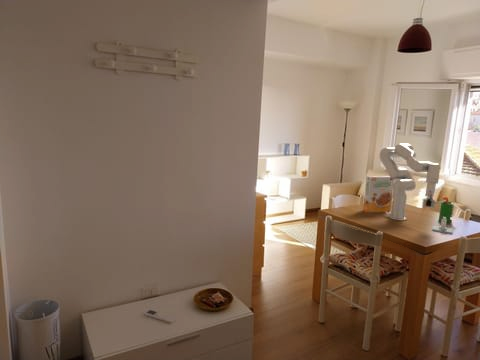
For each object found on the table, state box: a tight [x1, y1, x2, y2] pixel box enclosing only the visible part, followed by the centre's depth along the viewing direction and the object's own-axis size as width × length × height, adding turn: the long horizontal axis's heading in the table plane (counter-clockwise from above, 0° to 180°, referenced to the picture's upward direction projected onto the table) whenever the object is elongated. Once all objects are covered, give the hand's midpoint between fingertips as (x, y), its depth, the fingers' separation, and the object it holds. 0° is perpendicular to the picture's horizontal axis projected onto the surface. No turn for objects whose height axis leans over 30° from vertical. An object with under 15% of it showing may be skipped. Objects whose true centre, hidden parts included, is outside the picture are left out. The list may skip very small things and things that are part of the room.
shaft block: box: [432, 217, 454, 235], centre depth 245 cm, size 12×12×10 cm
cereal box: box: [362, 175, 395, 213], centre depth 292 cm, size 22×6×30 cm, turn 104°
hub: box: [423, 197, 436, 208], centre depth 246 cm, size 7×7×5 cm
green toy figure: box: [438, 196, 455, 225], centre depth 265 cm, size 10×9×20 cm
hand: (428, 204), depth 246 cm, fingers closed on hub, 6 cm apart
